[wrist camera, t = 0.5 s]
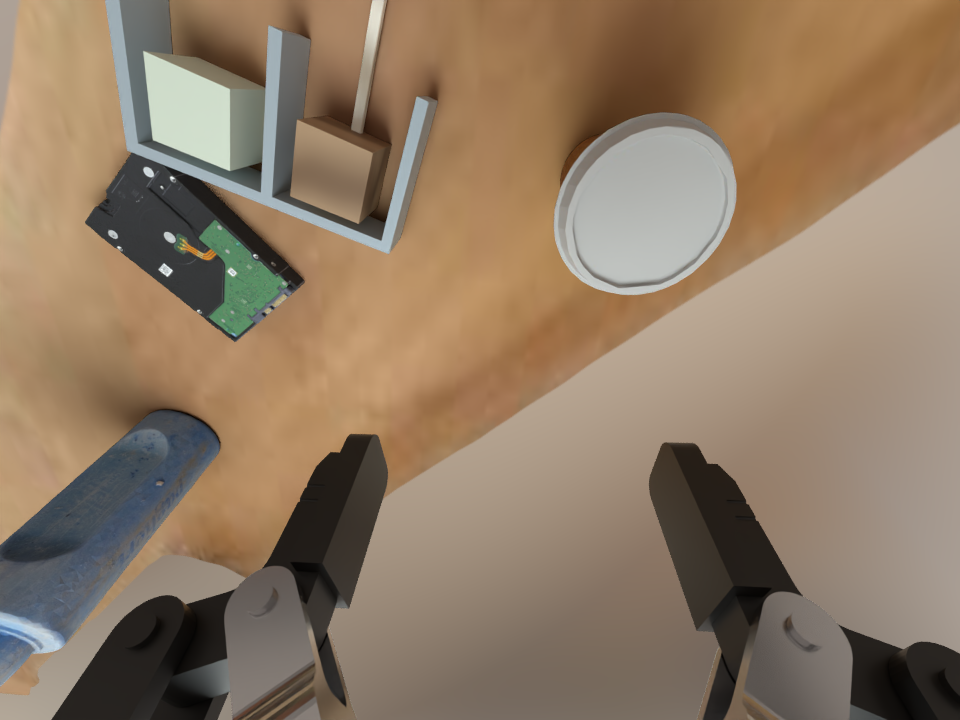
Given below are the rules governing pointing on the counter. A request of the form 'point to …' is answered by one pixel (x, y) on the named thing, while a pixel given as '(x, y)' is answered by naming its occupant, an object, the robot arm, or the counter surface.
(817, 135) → the counter surface
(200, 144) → the block
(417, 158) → the lane rack
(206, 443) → the bottle
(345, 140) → the block with brown handle
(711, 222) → the disposable coffee cup
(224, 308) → the disk drive
